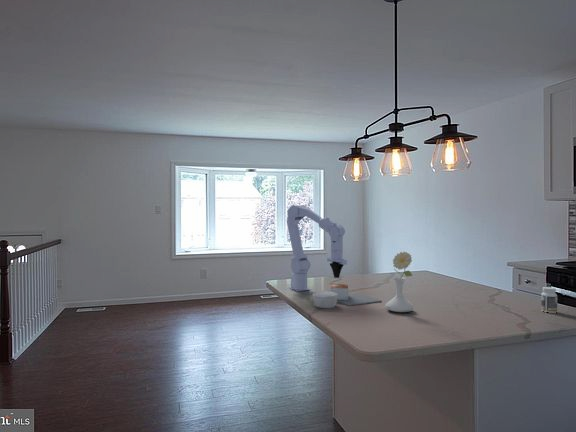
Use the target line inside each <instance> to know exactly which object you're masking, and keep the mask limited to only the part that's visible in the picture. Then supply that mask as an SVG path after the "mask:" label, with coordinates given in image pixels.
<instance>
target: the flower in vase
mask: <svg viewBox="0 0 576 432" xmlns="http://www.w3.org/2000/svg"><path fill="white" fill-rule="evenodd" d="M392 259H393V260H392V264H393V267H394V269H393V270H394V271H395V273H398V274H399V275H400V276H393V279H394V280H395V284H396V294H395V296H394V297H393V298H391V299H390V300H389V301H387V302H386V303H385V306H384V307H385V308H386V309H387V310H389V311H391V312H395V313H407V312H408V313H409V312H411V311H412V312H413V310H414V309H415V307H414V305H413V304H412V303H411V302H410V301H409V300H408V299H406V298H405V296H404V295H403V287H404V282H405V281H406V279H407V278H406V277H413V274H412V273H411V271H410V270H406V269H407V268H408V267H409V266H410V265H411V263H412V261H413V260H412V255H411V254H410V253H408V252H407V251H403V252H402V251H400V252H399V253H396V255H394V258H392ZM403 269H404V270H403ZM398 270H403V273H401V272H400V271H398ZM404 276H405V277H404Z"/></svg>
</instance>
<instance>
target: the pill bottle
mask: <svg viewBox="0 0 576 432" xmlns="http://www.w3.org/2000/svg"><path fill="white" fill-rule="evenodd" d="M556 292H557V289H556V287H551V286H543V287H542V292H541V295H540V310H541V312H543V311H544V312H543V313H546V312H551V313H550V314H557V313H558V295H557V293H556ZM556 312H557V313H556Z"/></svg>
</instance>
